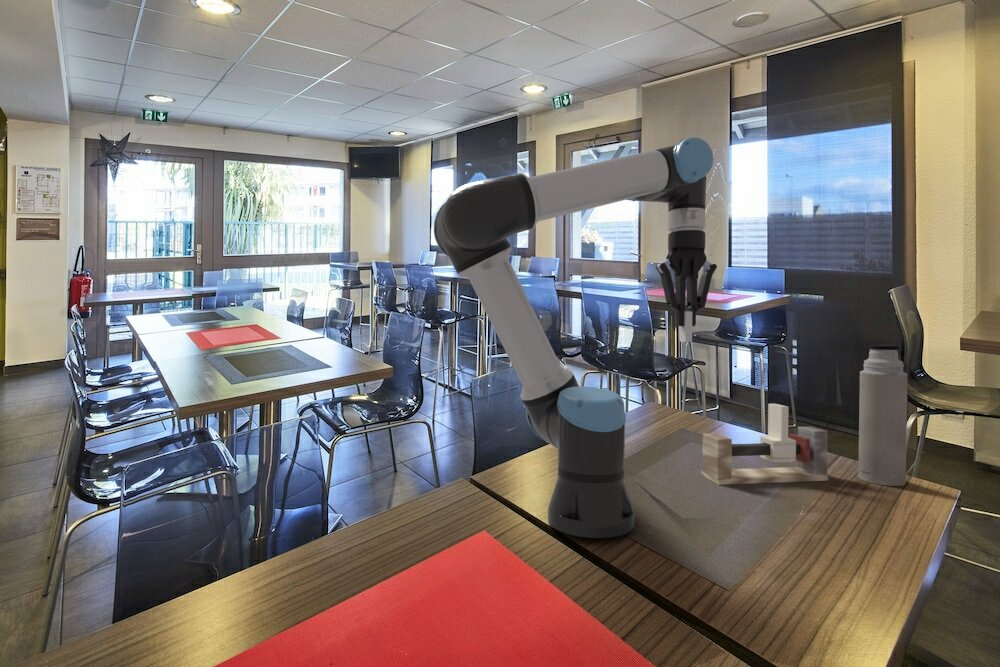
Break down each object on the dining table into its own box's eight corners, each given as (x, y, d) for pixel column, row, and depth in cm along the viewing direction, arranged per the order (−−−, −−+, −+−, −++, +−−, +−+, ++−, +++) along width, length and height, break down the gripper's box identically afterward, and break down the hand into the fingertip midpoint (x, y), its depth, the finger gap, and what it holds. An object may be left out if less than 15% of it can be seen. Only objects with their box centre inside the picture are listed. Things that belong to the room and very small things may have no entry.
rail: (718, 484, 107) (719, 435, 107) (701, 474, 114) (701, 428, 114) (830, 480, 110) (831, 432, 110) (806, 471, 117) (807, 425, 117)
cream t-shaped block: (773, 462, 110) (773, 406, 110) (760, 456, 114) (760, 403, 114) (795, 461, 111) (796, 406, 110) (781, 456, 115) (782, 403, 115)
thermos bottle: (850, 474, 115) (852, 343, 114) (890, 475, 114) (892, 344, 113) (872, 485, 107) (874, 345, 106) (915, 486, 106) (917, 345, 106)
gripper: (665, 227, 110) (664, 342, 110) (724, 229, 111) (723, 342, 112) (650, 233, 117) (649, 341, 118) (706, 235, 119) (705, 341, 119)
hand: (685, 341), depth 115 cm, fingers closed
